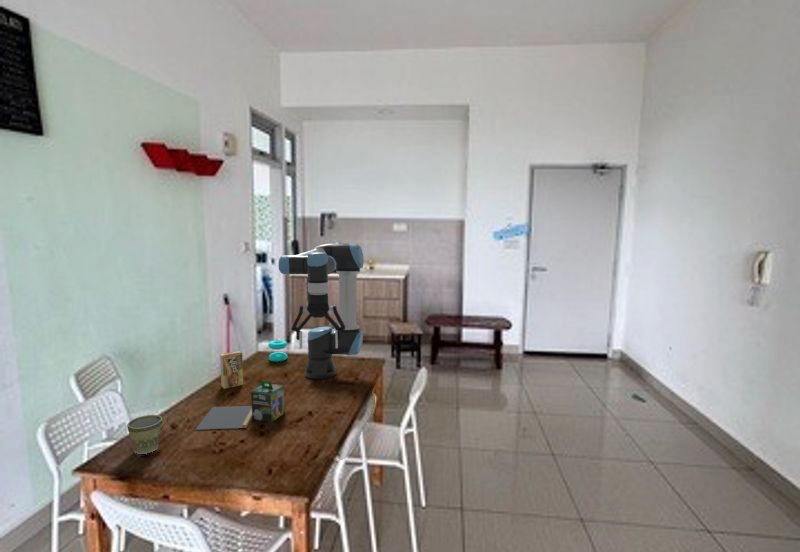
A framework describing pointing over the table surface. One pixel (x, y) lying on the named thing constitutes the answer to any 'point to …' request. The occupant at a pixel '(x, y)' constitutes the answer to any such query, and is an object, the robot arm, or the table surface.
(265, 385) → the chalk box
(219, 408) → the mat
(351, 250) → the robot arm
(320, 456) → the table surface
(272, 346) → the donuts
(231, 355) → the candy box
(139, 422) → the ceramic cup
